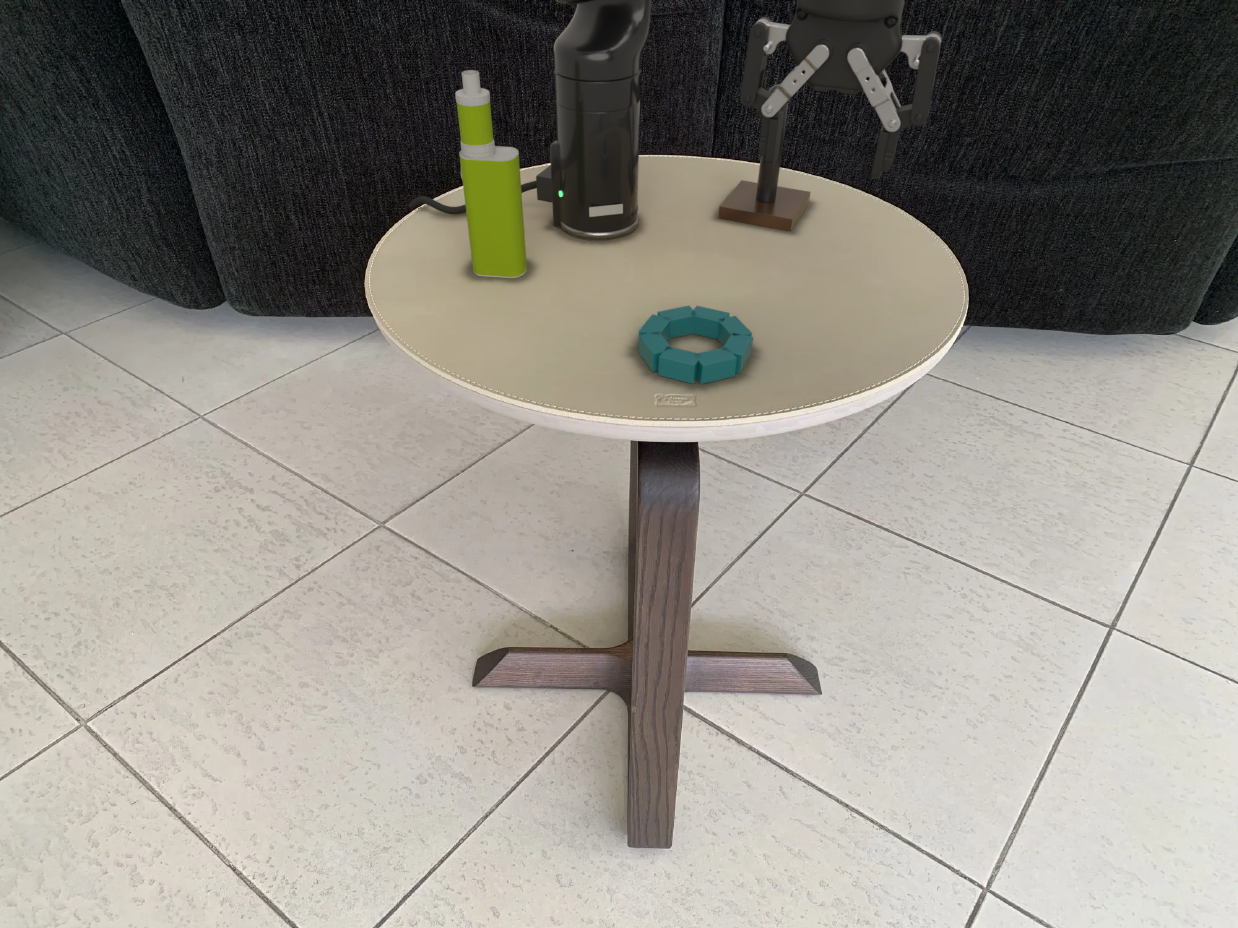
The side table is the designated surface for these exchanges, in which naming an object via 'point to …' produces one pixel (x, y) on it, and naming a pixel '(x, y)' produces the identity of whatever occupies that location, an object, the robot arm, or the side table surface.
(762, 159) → the peg stand
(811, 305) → the side table surface
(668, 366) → the ring
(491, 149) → the vape
